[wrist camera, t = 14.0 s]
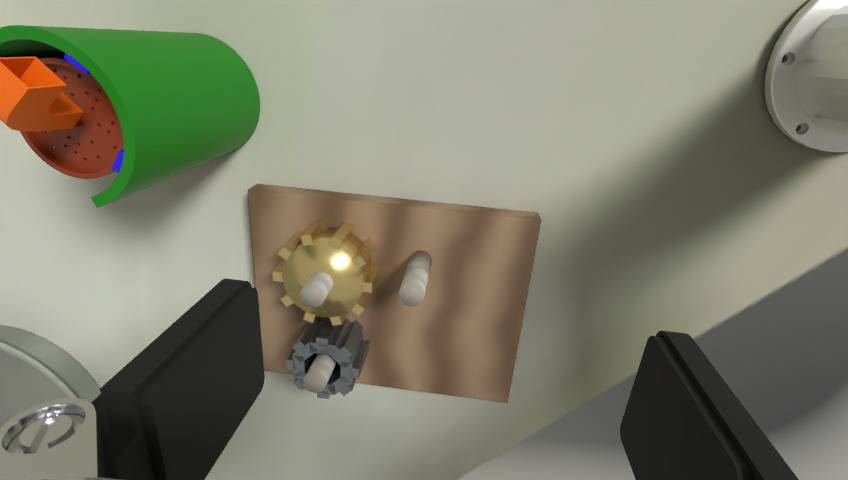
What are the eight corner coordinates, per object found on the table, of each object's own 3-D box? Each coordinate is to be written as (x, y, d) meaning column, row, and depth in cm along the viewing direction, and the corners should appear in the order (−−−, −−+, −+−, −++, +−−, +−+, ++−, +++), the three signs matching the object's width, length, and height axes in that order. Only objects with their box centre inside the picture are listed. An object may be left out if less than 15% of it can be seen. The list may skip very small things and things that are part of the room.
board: (538, 212, 41) (552, 251, 33) (506, 389, 48) (511, 454, 40) (257, 184, 42) (208, 213, 35) (270, 358, 50) (232, 414, 42)
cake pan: (-103, 359, 57) (-148, 383, 53) (15, 278, 50) (-27, 298, 46) (42, 488, 64) (12, 519, 60) (163, 433, 57) (138, 462, 53)
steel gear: (370, 315, 44) (359, 343, 40) (368, 371, 47) (358, 402, 43) (302, 307, 45) (284, 333, 41) (304, 363, 47) (288, 393, 43)
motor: (136, 96, 40) (-147, 131, 22) (177, 6, 37) (-116, -40, 19) (234, 166, 42) (45, 253, 24) (280, 85, 39) (103, 114, 20)
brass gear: (382, 224, 40) (373, 241, 37) (379, 307, 44) (370, 330, 40) (288, 214, 41) (269, 230, 37) (292, 296, 44) (275, 318, 41)
